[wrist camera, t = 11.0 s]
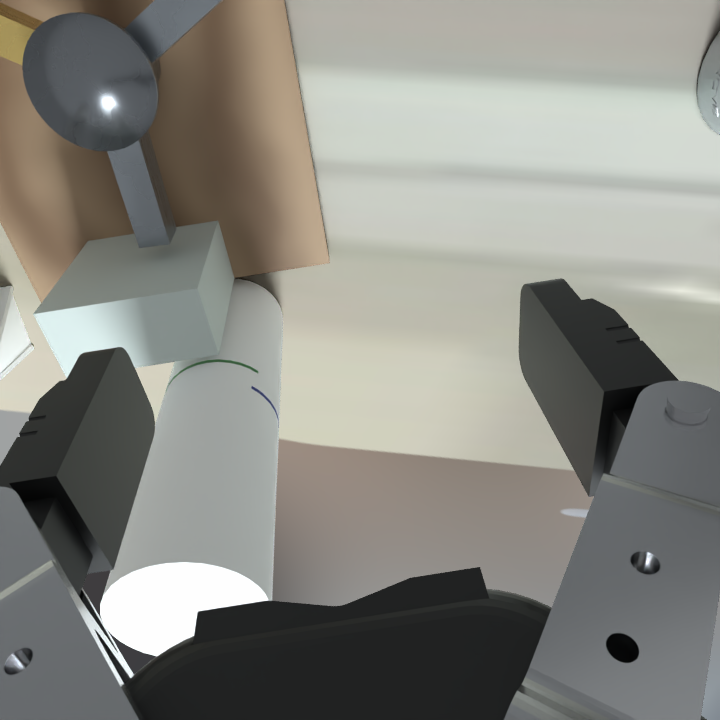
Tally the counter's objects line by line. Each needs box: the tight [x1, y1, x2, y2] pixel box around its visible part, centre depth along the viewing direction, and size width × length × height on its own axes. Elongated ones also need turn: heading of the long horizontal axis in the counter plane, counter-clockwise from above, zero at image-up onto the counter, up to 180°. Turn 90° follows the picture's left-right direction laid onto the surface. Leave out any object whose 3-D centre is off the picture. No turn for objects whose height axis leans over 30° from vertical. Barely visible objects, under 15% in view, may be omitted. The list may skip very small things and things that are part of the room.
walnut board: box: [0, 0, 330, 303], centre depth 36 cm, size 21×24×1 cm
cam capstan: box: [0, 0, 223, 248], centre depth 30 cm, size 16×14×7 cm
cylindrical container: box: [100, 279, 283, 656], centre depth 35 cm, size 7×7×25 cm
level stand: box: [33, 221, 234, 378], centre depth 37 cm, size 10×4×10 cm, turn 97°
